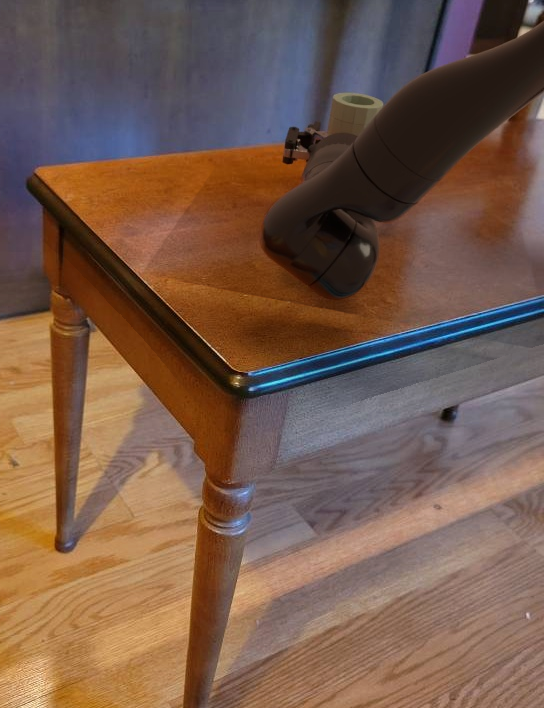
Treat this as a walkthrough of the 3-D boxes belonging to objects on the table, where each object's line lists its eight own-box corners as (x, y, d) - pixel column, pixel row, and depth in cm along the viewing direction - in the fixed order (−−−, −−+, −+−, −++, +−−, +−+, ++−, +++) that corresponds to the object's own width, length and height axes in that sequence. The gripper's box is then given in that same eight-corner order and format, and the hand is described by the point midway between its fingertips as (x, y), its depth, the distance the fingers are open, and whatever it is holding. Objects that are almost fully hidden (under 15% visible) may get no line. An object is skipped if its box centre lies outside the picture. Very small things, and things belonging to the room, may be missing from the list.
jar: (366, 182, 100) (384, 97, 93) (363, 199, 95) (382, 111, 88) (321, 174, 100) (335, 89, 94) (315, 191, 96) (330, 102, 89)
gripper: (414, 156, 75) (416, 113, 88) (276, 133, 76) (298, 94, 89) (397, 226, 79) (401, 175, 92) (267, 202, 81) (289, 156, 94)
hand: (351, 135), depth 91 cm, fingers open, 8 cm apart
